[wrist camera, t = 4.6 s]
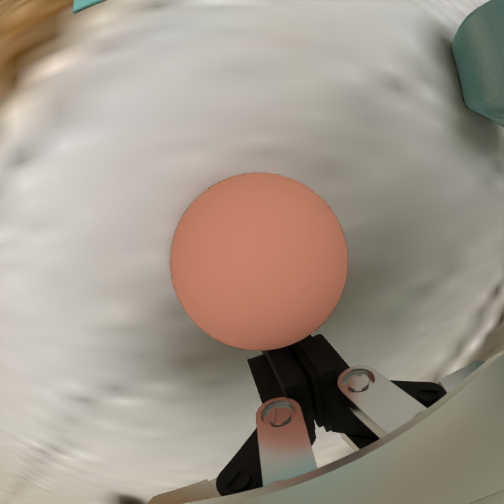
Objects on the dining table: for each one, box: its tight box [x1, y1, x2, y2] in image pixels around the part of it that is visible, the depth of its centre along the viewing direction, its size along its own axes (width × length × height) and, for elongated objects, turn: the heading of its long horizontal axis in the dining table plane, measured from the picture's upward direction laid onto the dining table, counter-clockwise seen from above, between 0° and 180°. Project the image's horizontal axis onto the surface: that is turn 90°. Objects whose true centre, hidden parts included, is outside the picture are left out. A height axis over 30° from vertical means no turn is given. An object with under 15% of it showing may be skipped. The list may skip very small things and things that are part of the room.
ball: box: [170, 173, 348, 351], centre depth 9 cm, size 6×6×6 cm
